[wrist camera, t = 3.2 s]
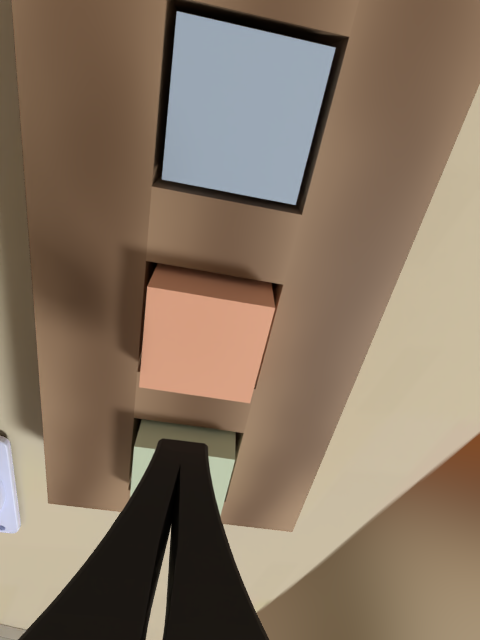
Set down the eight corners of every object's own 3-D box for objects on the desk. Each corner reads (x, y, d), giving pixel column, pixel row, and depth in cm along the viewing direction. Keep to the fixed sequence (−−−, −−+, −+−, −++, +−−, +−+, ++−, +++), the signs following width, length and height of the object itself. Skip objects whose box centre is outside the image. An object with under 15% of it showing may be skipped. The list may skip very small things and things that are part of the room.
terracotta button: (151, 348, 17) (138, 387, 15) (160, 257, 15) (147, 286, 13) (248, 363, 17) (250, 403, 15) (270, 276, 15) (275, 308, 13)
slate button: (173, 164, 14) (161, 179, 12) (187, 22, 12) (176, 11, 10) (287, 187, 14) (295, 204, 12) (320, 52, 12) (335, 47, 10)
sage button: (140, 465, 20) (128, 510, 18) (146, 404, 18) (134, 446, 16) (221, 475, 20) (219, 520, 18) (235, 416, 18) (235, 459, 16)
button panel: (70, 454, 22) (48, 503, 20) (55, -95, 11) (0, -146, 9) (286, 481, 23) (292, 531, 21) (461, 6, 12) (520, -14, 10)
